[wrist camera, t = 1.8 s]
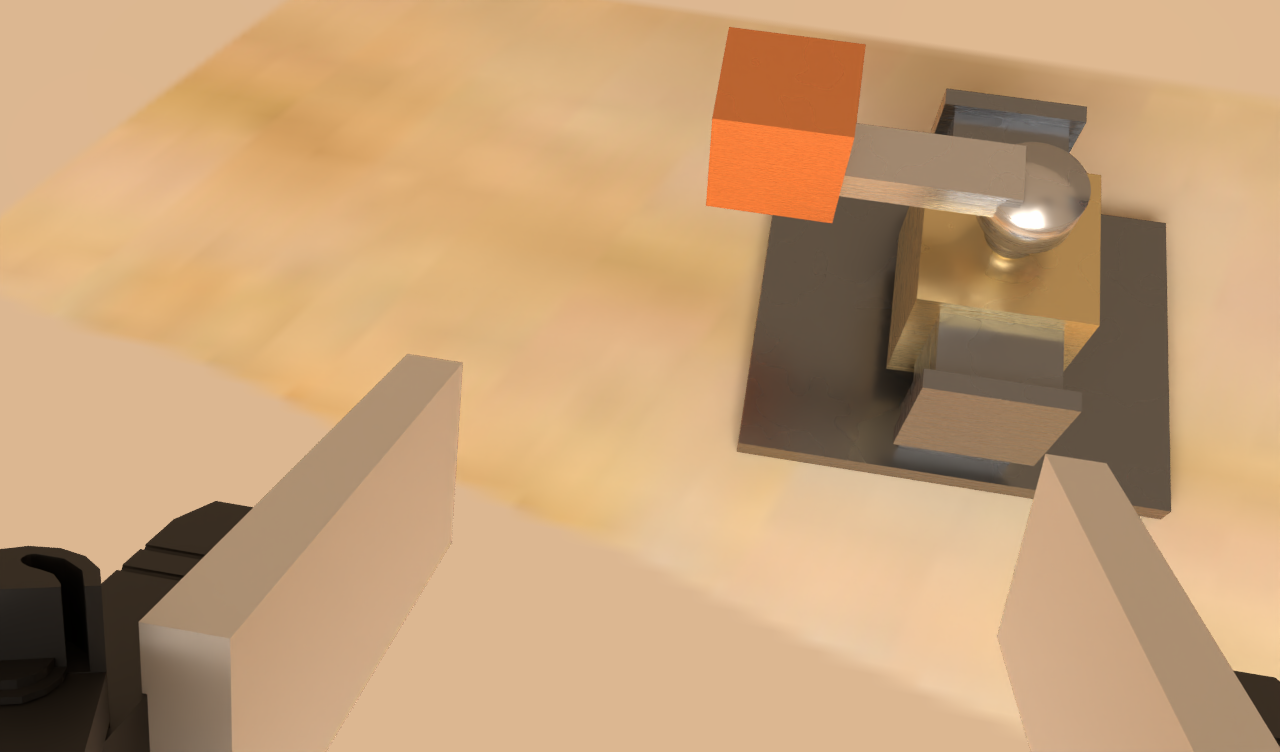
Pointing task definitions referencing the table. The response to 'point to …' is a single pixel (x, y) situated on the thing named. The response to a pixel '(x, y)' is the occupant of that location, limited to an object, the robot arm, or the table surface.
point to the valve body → (965, 337)
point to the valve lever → (868, 150)
